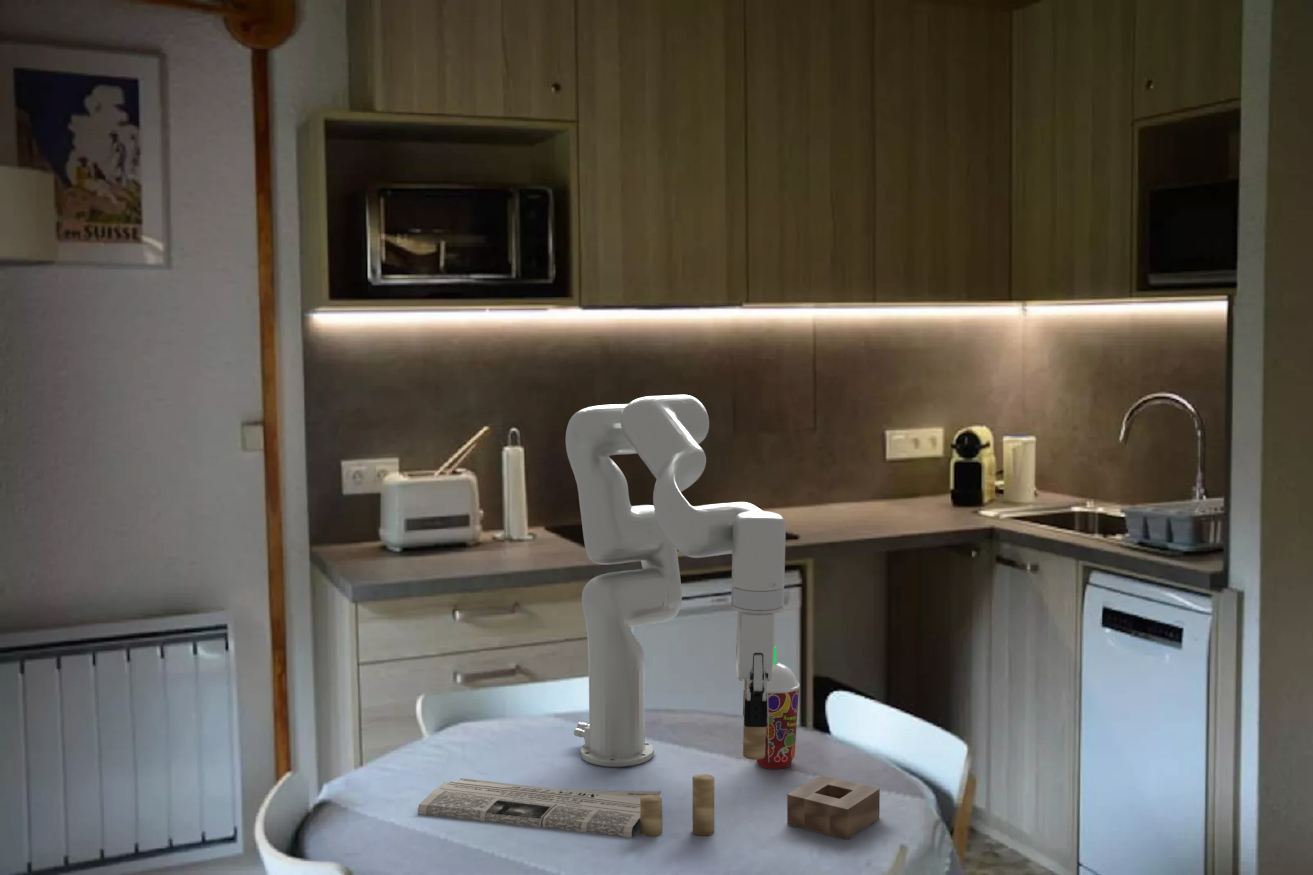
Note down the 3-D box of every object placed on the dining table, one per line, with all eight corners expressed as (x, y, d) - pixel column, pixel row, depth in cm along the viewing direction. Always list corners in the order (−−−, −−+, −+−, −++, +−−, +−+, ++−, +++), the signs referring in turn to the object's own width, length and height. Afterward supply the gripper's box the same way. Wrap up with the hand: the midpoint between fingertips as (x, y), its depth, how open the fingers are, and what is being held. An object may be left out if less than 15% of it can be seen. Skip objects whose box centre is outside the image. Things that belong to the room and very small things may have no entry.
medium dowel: (688, 832, 189) (688, 778, 189) (700, 825, 192) (700, 772, 191) (706, 837, 188) (706, 783, 187) (718, 830, 190) (718, 777, 189)
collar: (787, 824, 192) (787, 794, 192) (820, 803, 200) (820, 775, 200) (847, 839, 186) (847, 809, 186) (879, 818, 194) (879, 788, 194)
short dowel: (635, 832, 189) (635, 799, 189) (649, 825, 192) (649, 793, 191) (652, 838, 187) (652, 804, 187) (666, 831, 190) (666, 798, 189)
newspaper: (417, 817, 197) (417, 794, 197) (452, 788, 209) (452, 767, 209) (640, 842, 187) (640, 818, 187) (664, 810, 199) (663, 787, 199)
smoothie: (796, 774, 213) (797, 654, 211) (746, 770, 215) (746, 652, 213) (801, 757, 221) (802, 641, 219) (752, 754, 223) (752, 639, 221)
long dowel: (738, 756, 189) (740, 662, 187) (750, 750, 191) (752, 657, 190) (757, 761, 187) (759, 666, 185) (769, 754, 190) (771, 661, 188)
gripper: (729, 584, 195) (727, 702, 197) (733, 612, 178) (730, 741, 181) (779, 584, 194) (776, 703, 197) (788, 613, 178) (784, 742, 180)
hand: (754, 720), depth 189 cm, fingers closed on long dowel, 3 cm apart
